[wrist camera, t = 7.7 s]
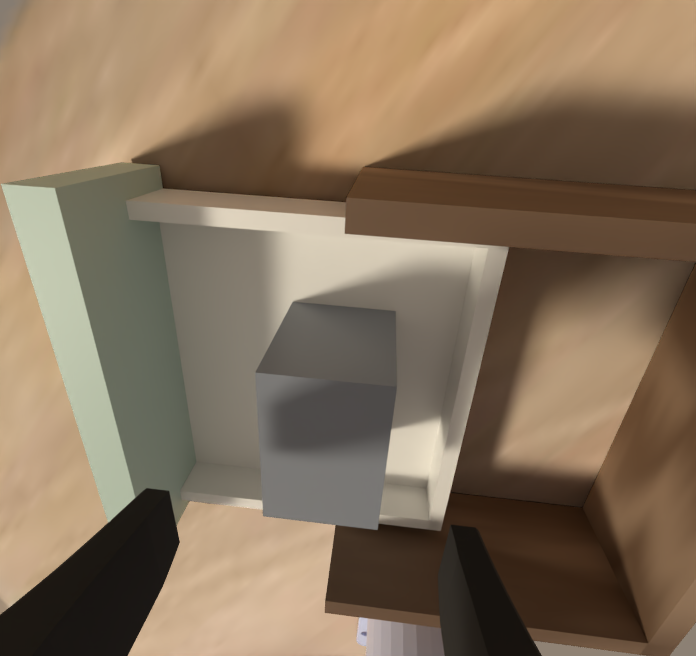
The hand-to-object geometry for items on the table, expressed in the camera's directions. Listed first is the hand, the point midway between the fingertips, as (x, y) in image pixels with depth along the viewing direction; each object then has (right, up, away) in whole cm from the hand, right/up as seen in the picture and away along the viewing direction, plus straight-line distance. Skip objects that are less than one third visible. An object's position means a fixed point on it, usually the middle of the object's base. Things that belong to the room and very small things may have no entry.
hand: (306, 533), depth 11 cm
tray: (-1, +4, +7) cm, 8 cm away
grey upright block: (+1, +3, +7) cm, 8 cm away
